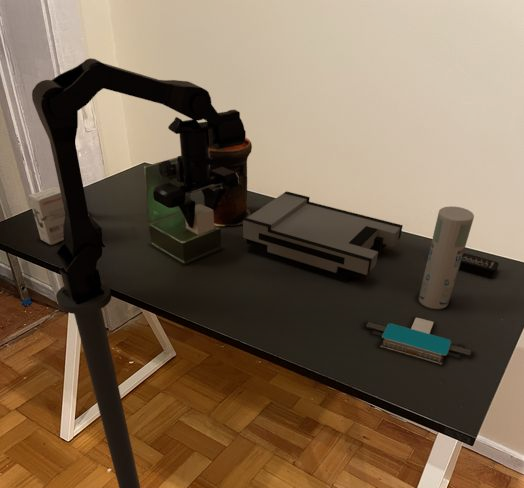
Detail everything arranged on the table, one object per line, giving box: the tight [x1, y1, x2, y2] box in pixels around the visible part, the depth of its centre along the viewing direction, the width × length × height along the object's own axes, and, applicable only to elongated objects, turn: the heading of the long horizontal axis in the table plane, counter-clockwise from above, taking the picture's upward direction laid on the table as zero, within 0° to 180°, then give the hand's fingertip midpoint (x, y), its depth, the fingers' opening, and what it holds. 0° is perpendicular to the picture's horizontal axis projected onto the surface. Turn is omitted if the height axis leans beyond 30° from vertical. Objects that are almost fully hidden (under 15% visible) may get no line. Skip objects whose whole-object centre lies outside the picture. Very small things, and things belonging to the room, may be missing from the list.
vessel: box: [209, 137, 253, 227], centre depth 137 cm, size 14×14×20 cm
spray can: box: [418, 206, 475, 310], centre depth 105 cm, size 6×6×20 cm
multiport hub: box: [458, 252, 500, 280], centre depth 123 cm, size 4×14×2 cm, turn 57°
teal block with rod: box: [365, 317, 472, 366], centre depth 101 cm, size 20×12×2 cm, turn 64°
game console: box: [242, 190, 403, 282], centre depth 125 cm, size 21×32×8 cm, turn 58°
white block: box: [185, 203, 214, 235], centre depth 114 cm, size 4×4×4 cm
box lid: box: [143, 156, 184, 224], centre depth 125 cm, size 14×11×5 cm
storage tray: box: [148, 212, 222, 266], centre depth 127 cm, size 13×11×6 cm
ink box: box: [28, 185, 65, 246], centre depth 128 cm, size 9×5×12 cm, turn 139°
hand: (199, 224), depth 115 cm, fingers closed on white block, 4 cm apart
